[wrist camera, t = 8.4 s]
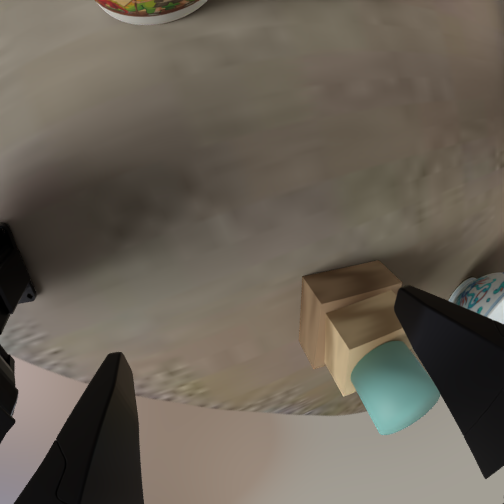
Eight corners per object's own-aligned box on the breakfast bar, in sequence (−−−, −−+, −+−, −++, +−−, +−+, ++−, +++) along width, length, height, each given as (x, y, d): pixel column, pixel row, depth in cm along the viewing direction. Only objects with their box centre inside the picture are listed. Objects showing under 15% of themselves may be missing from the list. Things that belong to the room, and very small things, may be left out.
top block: (324, 362, 26) (343, 396, 22) (325, 313, 23) (349, 349, 19) (382, 339, 27) (404, 369, 23) (391, 290, 24) (419, 320, 20)
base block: (297, 339, 29) (313, 369, 26) (301, 274, 26) (321, 304, 22) (364, 320, 31) (384, 346, 27) (377, 258, 27) (402, 282, 24)
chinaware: (501, 230, 31) (543, 259, 24) (486, 308, 39) (516, 337, 32) (422, 283, 30) (467, 327, 24) (417, 358, 38) (446, 396, 32)
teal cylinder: (345, 393, 22) (371, 442, 18) (356, 352, 20) (390, 408, 16) (397, 374, 23) (426, 417, 19) (413, 332, 21) (450, 379, 16)
